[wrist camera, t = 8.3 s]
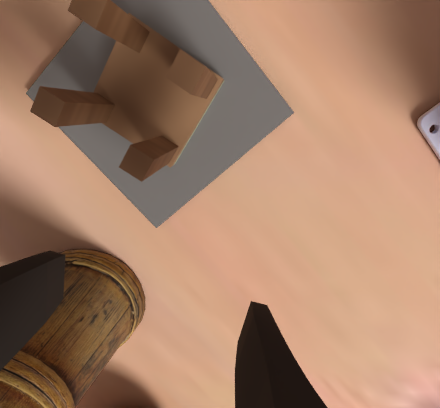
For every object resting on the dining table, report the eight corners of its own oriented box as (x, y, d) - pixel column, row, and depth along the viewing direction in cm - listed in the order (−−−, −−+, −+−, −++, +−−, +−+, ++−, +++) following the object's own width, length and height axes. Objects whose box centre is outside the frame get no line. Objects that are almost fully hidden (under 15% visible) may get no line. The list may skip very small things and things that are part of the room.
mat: (292, 112, 17) (294, 112, 17) (158, 225, 21) (156, 228, 20) (157, -64, 15) (155, -70, 15) (31, 93, 18) (25, 93, 18)
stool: (224, 80, 17) (213, 65, 11) (174, 164, 18) (143, 187, 13) (137, 19, 16) (77, -31, 10) (94, 112, 18) (24, 112, 12)
